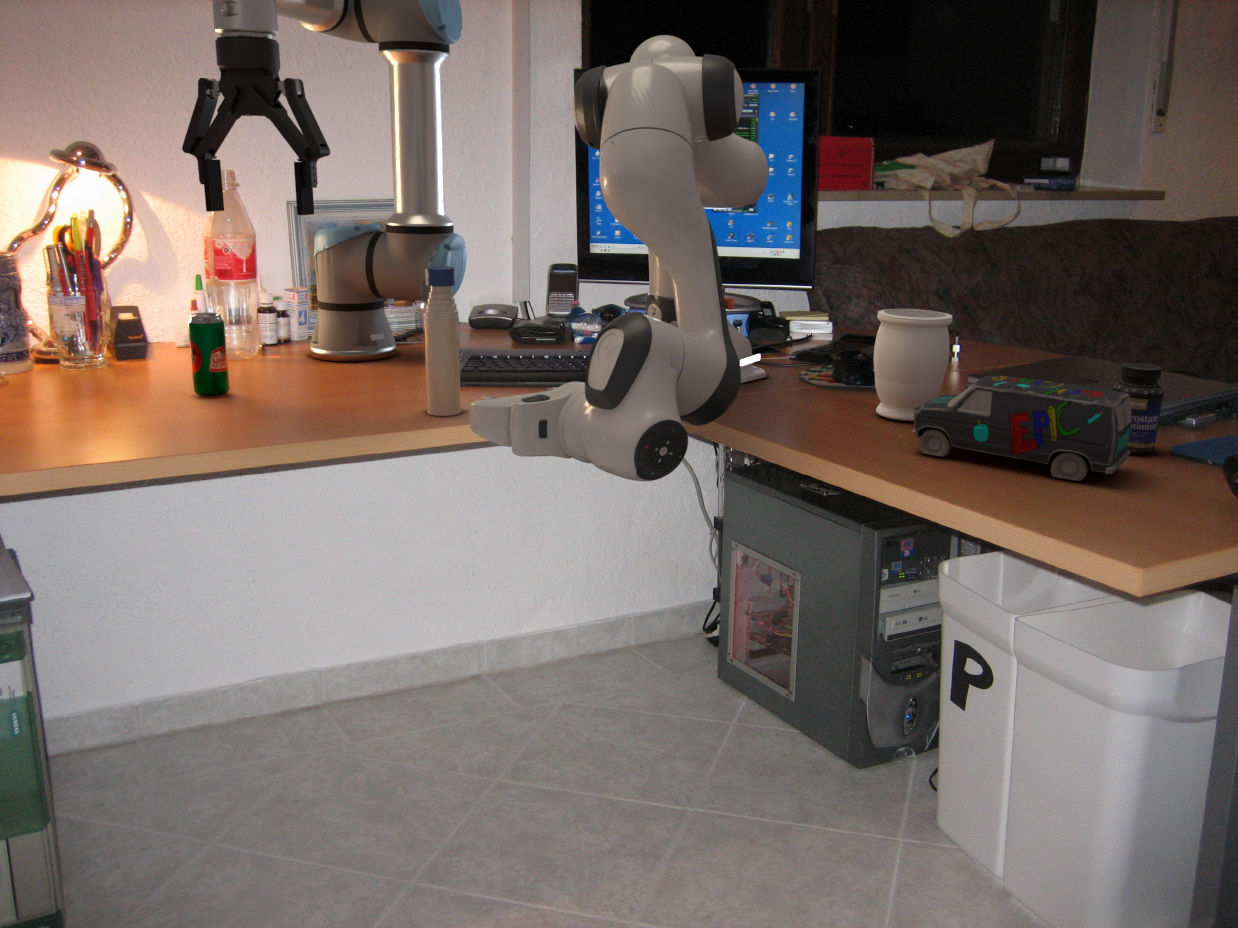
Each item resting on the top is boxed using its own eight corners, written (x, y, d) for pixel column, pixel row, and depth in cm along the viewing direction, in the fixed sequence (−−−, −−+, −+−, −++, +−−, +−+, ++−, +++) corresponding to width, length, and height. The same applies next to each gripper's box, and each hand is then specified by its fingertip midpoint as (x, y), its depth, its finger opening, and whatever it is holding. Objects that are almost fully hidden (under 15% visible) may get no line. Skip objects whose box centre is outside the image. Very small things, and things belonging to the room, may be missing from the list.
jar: (854, 409, 159) (862, 309, 155) (910, 404, 163) (920, 306, 159) (898, 426, 150) (909, 320, 146) (957, 420, 154) (969, 317, 150)
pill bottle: (1117, 454, 138) (1130, 370, 135) (1094, 442, 144) (1106, 361, 140) (1163, 454, 138) (1177, 370, 135) (1139, 442, 144) (1152, 361, 141)
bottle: (440, 417, 150) (436, 273, 145) (420, 411, 154) (415, 270, 148) (468, 412, 154) (464, 271, 148) (447, 406, 157) (443, 268, 151)
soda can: (218, 398, 158) (211, 317, 155) (187, 396, 159) (179, 316, 156) (236, 391, 163) (230, 313, 160) (206, 389, 164) (199, 311, 161)
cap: (437, 287, 146) (436, 270, 145) (419, 284, 149) (419, 267, 148) (461, 285, 149) (461, 268, 148) (443, 282, 151) (443, 265, 151)
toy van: (934, 435, 146) (942, 362, 143) (1130, 468, 132) (1143, 388, 129) (905, 451, 137) (912, 375, 134) (1110, 488, 123) (1124, 404, 121)
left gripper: (141, 35, 132) (159, 211, 138) (318, 33, 125) (328, 218, 131) (182, 41, 139) (197, 208, 145) (351, 39, 132) (360, 215, 138)
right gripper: (649, 384, 131) (585, 365, 142) (505, 405, 119) (447, 382, 130) (648, 434, 133) (584, 411, 144) (506, 459, 121) (448, 432, 132)
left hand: (260, 213), depth 138 cm, fingers open, 13 cm apart
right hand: (518, 398), depth 137 cm, fingers open, 8 cm apart
